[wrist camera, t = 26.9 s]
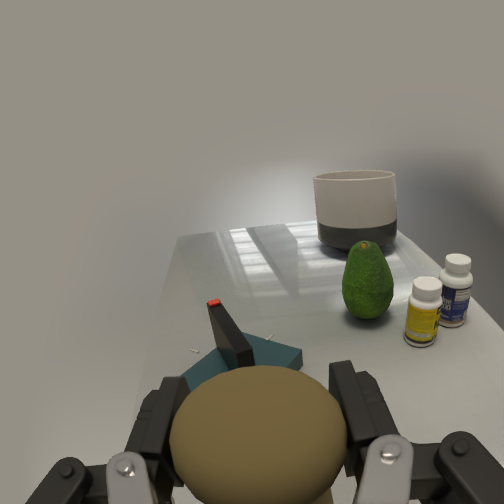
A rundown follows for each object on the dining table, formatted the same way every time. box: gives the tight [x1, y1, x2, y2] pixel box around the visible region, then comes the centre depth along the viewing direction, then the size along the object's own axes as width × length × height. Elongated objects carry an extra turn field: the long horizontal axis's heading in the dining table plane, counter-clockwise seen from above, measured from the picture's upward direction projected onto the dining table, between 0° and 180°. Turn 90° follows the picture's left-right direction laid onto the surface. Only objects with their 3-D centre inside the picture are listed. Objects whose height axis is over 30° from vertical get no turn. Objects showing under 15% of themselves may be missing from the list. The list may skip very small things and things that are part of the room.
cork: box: [169, 365, 348, 504], centre depth 9 cm, size 6×6×11 cm
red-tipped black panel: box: [207, 299, 256, 371], centre depth 32 cm, size 11×2×7 cm, turn 22°
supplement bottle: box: [404, 276, 442, 347], centre depth 34 cm, size 5×5×8 cm
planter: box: [313, 170, 397, 252], centre depth 68 cm, size 19×19×18 cm
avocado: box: [342, 240, 394, 319], centre depth 41 cm, size 8×8×12 cm
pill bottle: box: [439, 254, 473, 327], centre depth 36 cm, size 5×5×10 cm
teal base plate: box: [179, 332, 303, 392], centre depth 34 cm, size 15×15×3 cm
